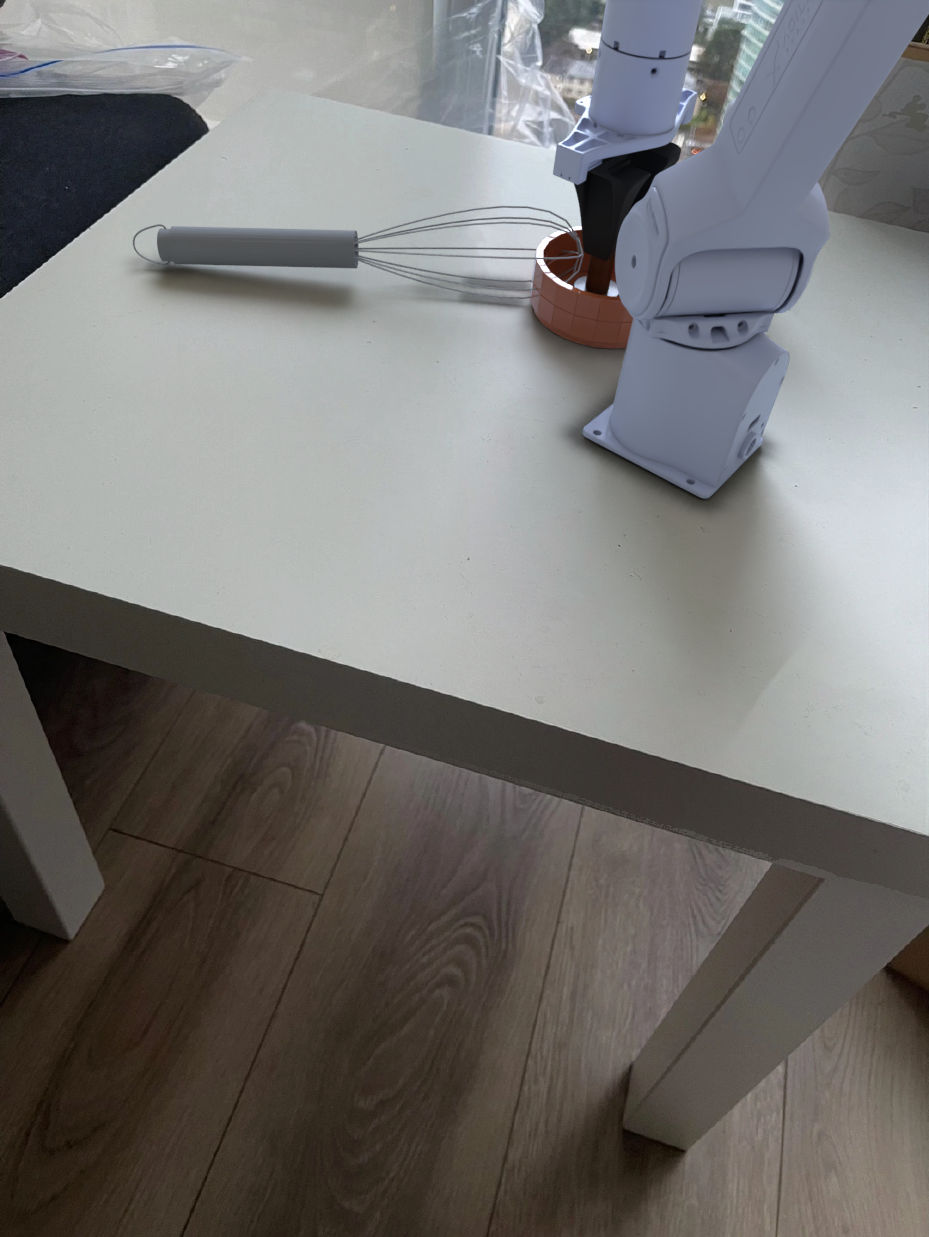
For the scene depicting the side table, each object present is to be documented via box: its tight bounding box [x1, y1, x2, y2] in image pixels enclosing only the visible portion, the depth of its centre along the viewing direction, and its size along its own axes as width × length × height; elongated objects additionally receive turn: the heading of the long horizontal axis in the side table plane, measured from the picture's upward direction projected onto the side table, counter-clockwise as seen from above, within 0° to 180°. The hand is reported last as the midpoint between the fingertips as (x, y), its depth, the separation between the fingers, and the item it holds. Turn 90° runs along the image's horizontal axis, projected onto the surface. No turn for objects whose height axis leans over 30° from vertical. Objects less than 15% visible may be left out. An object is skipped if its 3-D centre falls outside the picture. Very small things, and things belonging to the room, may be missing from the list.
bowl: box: [529, 225, 633, 350], centre depth 71 cm, size 11×11×4 cm
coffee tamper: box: [573, 250, 619, 297], centre depth 69 cm, size 4×4×9 cm
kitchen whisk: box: [132, 205, 584, 300], centre depth 71 cm, size 6×34×6 cm, turn 88°
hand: (605, 249), depth 69 cm, fingers closed on coffee tamper, 2 cm apart
